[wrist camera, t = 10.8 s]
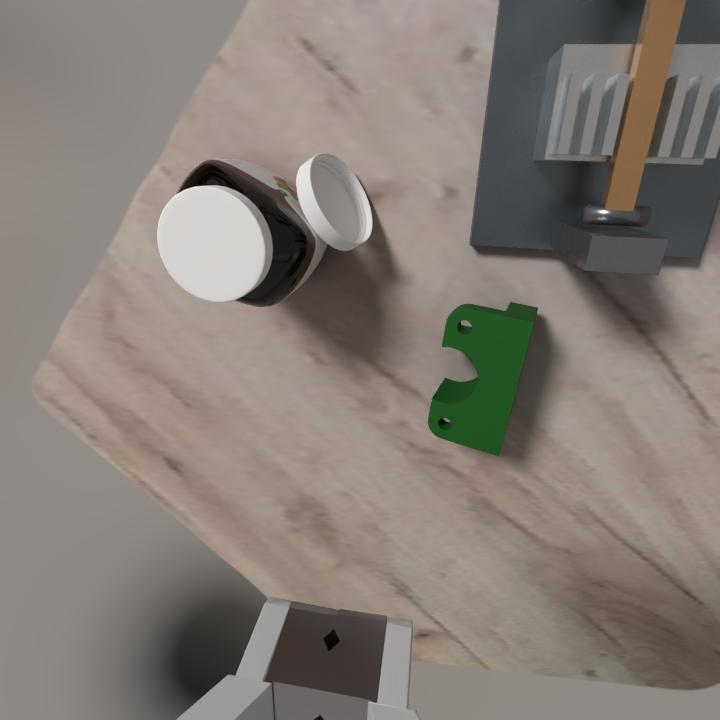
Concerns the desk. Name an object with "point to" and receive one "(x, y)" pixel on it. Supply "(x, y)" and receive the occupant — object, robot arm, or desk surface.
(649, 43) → the wooden handle
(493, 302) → the desk surface
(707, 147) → the heatsink mount
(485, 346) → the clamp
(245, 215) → the chocolate spread jar
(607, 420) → the desk surface
